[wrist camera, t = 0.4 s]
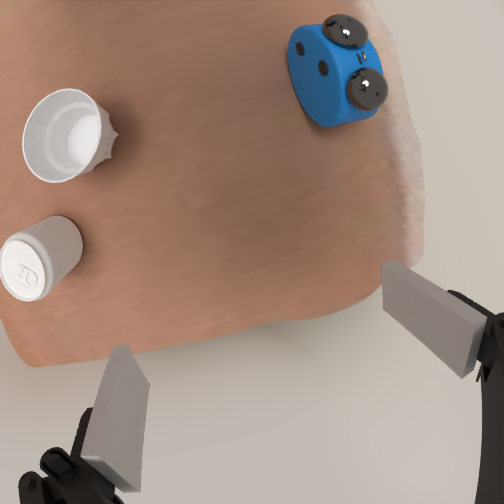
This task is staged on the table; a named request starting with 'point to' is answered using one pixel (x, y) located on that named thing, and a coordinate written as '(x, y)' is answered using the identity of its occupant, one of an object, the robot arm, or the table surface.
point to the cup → (66, 136)
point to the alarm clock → (336, 71)
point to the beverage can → (39, 257)
